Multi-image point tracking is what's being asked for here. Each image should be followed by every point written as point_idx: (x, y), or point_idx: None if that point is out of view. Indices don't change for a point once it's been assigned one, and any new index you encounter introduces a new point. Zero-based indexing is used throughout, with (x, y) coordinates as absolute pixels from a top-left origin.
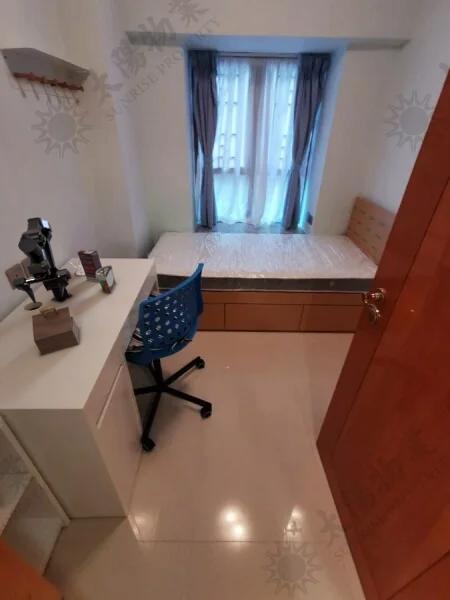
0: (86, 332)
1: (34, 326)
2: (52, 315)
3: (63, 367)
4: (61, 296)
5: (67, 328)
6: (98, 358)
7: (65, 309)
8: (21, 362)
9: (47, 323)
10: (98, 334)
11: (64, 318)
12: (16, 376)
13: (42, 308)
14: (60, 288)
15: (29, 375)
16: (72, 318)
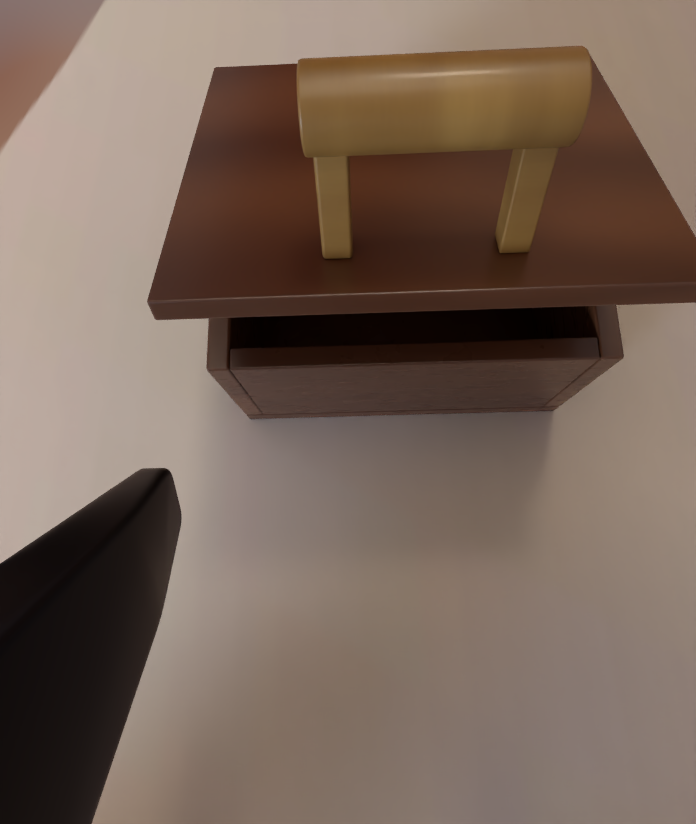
0: (183, 325)
1: (624, 152)
2: (402, 226)
3: (361, 13)
4: (163, 475)
5: (255, 84)
6: (141, 6)
7: (207, 268)
8: (667, 169)
9: (466, 154)
10: (94, 253)
11: (256, 166)
12: (659, 48)
13: (525, 60)
14: (6, 600)
15: (572, 25)
16: (211, 319)
